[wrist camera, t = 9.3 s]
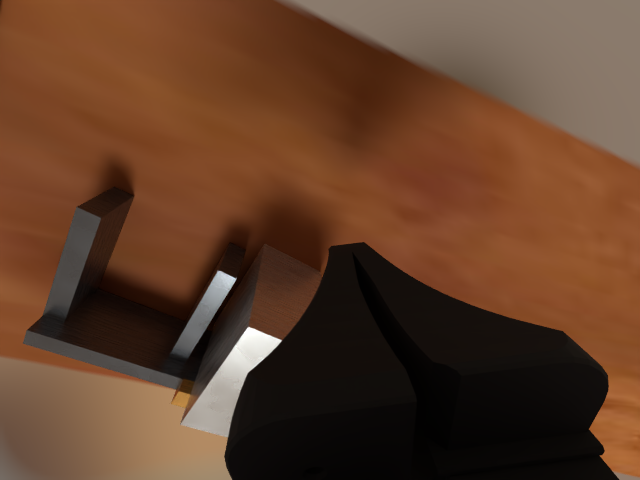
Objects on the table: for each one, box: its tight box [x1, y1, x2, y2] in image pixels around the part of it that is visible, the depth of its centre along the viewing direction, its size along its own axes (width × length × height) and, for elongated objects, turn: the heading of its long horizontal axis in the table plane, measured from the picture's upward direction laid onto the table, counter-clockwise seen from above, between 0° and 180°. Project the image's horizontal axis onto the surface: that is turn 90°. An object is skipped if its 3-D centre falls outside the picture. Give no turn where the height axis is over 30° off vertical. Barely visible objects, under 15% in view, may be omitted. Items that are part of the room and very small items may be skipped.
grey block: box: [180, 244, 321, 437], centre depth 16 cm, size 4×7×7 cm, turn 147°
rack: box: [23, 187, 245, 408], centre depth 18 cm, size 20×8×5 cm, turn 57°
